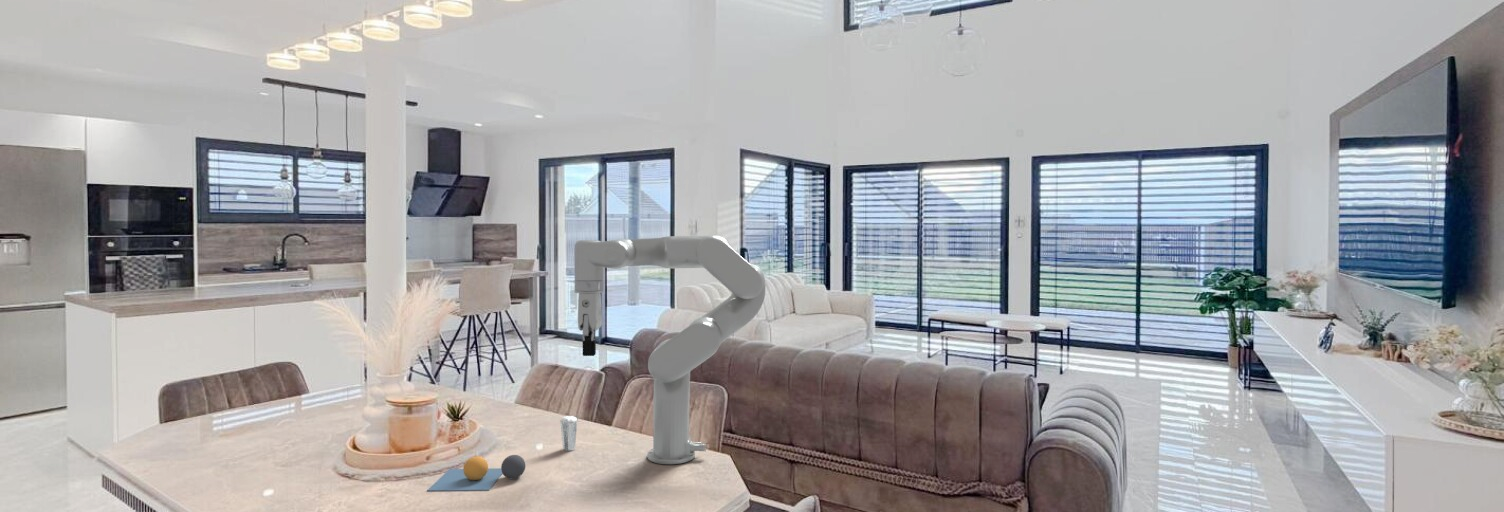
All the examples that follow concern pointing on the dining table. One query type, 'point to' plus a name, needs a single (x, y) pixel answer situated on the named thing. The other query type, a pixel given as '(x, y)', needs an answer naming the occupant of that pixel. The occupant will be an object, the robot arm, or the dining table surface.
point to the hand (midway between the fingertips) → (589, 355)
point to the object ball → (475, 468)
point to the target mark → (465, 481)
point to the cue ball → (513, 466)
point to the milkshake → (569, 432)
